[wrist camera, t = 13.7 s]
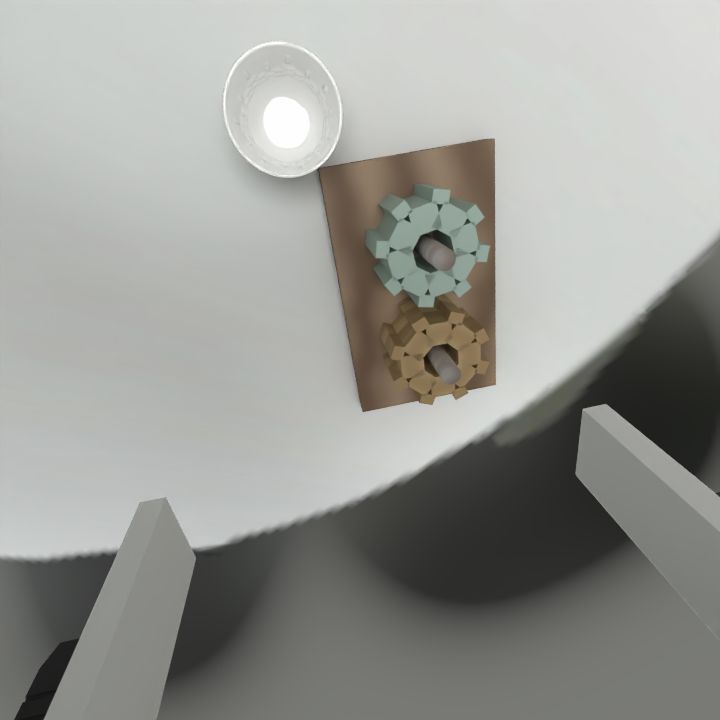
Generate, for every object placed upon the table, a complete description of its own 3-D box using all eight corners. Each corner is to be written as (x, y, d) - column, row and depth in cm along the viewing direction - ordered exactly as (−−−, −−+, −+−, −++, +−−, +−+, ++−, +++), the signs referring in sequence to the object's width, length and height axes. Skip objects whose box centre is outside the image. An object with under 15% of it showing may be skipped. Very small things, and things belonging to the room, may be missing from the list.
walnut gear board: (360, 402, 51) (375, 462, 41) (318, 168, 39) (325, 173, 29) (488, 376, 52) (533, 429, 42) (485, 139, 40) (547, 135, 30)
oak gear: (375, 303, 43) (386, 324, 38) (465, 285, 44) (489, 304, 38) (386, 382, 48) (397, 411, 42) (468, 366, 48) (490, 392, 43)
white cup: (224, 137, 37) (201, 132, 28) (267, 45, 34) (257, 8, 25) (303, 189, 39) (305, 200, 31) (348, 108, 37) (365, 94, 28)
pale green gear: (383, 300, 43) (395, 321, 38) (353, 206, 39) (362, 215, 33) (472, 267, 43) (496, 283, 38) (451, 169, 39) (476, 172, 33)
